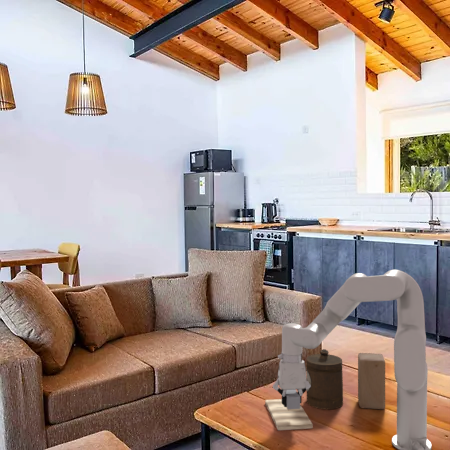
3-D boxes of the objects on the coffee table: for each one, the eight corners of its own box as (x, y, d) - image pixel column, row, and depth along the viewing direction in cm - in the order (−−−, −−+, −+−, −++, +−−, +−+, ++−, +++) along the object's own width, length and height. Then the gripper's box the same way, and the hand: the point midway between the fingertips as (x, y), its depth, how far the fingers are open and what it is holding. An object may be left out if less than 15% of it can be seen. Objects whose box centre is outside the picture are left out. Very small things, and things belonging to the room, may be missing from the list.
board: (312, 428, 183) (312, 424, 183) (277, 430, 181) (277, 426, 181) (296, 401, 207) (296, 398, 206) (265, 403, 205) (265, 400, 205)
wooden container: (314, 392, 216) (313, 342, 215) (347, 399, 208) (347, 347, 207) (301, 405, 203) (300, 352, 202) (336, 412, 196) (336, 357, 194)
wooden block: (385, 410, 197) (385, 360, 196) (359, 408, 199) (359, 359, 198) (382, 400, 207) (382, 353, 206) (357, 398, 209) (357, 351, 208)
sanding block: (300, 410, 182) (300, 396, 182) (288, 410, 182) (288, 397, 181) (294, 401, 190) (294, 388, 190) (283, 401, 190) (283, 389, 189)
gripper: (271, 361, 180) (271, 410, 181) (317, 359, 182) (316, 408, 183) (267, 354, 187) (267, 402, 189) (311, 353, 189) (310, 400, 190)
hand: (291, 404), depth 186 cm, fingers closed on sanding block, 4 cm apart
